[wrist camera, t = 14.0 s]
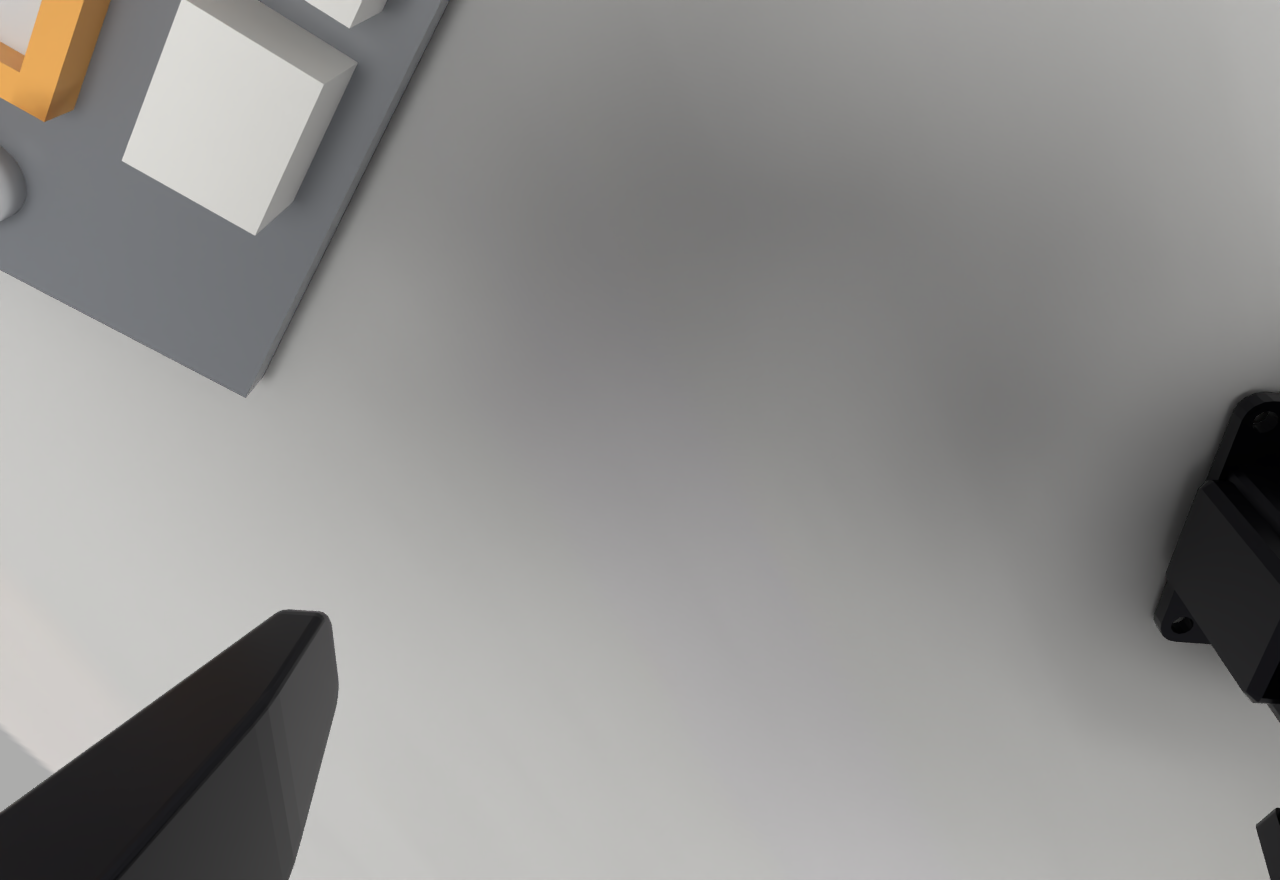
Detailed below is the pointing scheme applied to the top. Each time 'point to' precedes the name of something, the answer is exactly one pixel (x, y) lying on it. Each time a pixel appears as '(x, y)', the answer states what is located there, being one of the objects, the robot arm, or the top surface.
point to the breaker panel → (171, 232)
